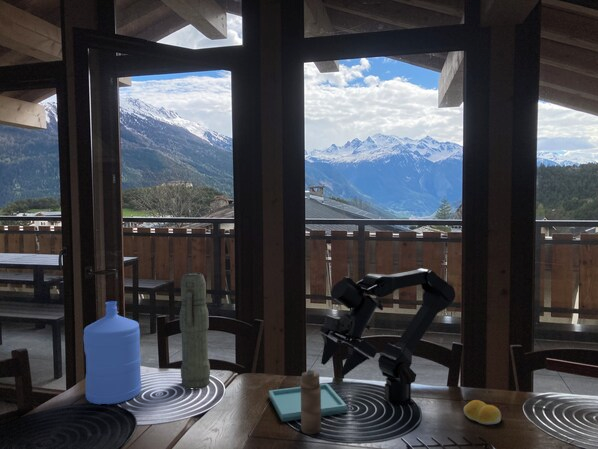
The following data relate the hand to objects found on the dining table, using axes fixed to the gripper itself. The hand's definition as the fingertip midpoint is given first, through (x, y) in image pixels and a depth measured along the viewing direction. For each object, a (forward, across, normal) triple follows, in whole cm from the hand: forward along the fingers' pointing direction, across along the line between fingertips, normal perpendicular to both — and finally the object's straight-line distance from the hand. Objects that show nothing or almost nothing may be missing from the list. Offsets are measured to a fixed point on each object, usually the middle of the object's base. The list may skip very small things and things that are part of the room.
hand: (332, 369), depth 124 cm
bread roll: (-9, +19, +36) cm, 42 cm away
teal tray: (+12, -11, +6) cm, 17 cm away
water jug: (+38, -47, -31) cm, 68 cm away
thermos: (+25, -42, -12) cm, 50 cm away
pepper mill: (+15, +2, +1) cm, 15 cm away
